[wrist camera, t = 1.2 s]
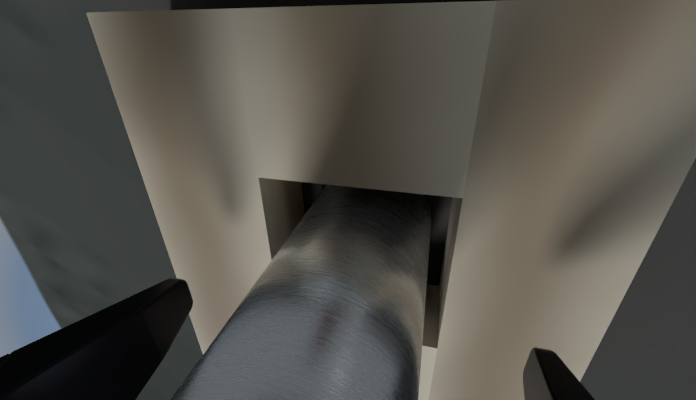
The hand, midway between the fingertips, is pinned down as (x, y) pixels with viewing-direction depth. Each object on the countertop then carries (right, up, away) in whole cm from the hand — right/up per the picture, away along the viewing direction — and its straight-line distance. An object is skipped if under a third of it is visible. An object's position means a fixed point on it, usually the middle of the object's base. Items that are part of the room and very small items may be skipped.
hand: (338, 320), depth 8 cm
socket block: (+1, +2, +4) cm, 5 cm away
